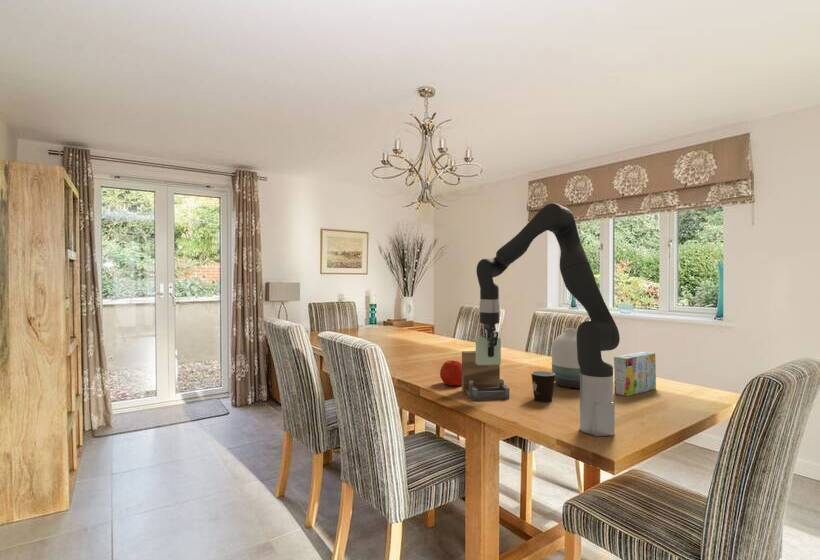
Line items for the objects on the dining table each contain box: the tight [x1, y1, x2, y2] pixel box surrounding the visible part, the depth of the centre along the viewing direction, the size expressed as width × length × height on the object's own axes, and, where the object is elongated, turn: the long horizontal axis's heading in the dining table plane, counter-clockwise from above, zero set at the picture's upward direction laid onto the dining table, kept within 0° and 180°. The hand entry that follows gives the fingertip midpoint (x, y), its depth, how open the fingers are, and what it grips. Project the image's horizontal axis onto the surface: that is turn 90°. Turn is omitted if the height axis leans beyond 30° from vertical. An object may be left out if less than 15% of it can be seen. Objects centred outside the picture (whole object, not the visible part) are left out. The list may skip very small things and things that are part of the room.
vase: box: [551, 327, 580, 389], centre depth 187 cm, size 17×17×24 cm
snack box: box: [613, 351, 657, 397], centre depth 178 cm, size 21×6×15 cm, turn 122°
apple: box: [439, 360, 462, 387], centre depth 189 cm, size 11×11×11 cm
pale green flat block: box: [475, 336, 502, 365], centre depth 169 cm, size 3×9×10 cm, turn 99°
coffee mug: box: [531, 370, 555, 403], centre depth 167 cm, size 12×9×10 cm
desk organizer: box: [461, 350, 510, 401], centre depth 173 cm, size 14×15×16 cm
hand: (489, 355), depth 169 cm, fingers closed on pale green flat block, 3 cm apart
